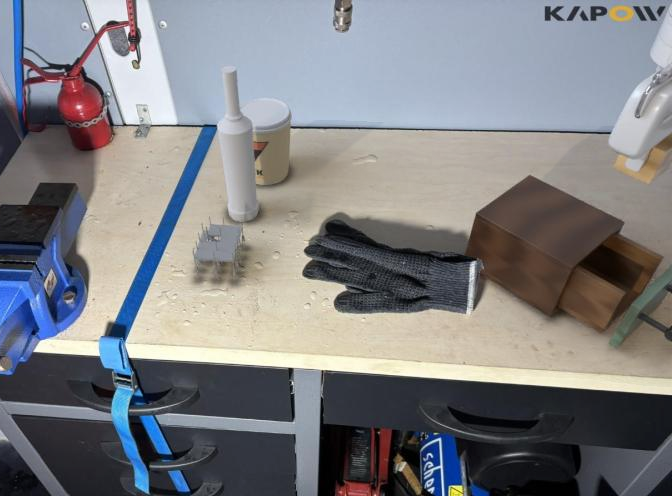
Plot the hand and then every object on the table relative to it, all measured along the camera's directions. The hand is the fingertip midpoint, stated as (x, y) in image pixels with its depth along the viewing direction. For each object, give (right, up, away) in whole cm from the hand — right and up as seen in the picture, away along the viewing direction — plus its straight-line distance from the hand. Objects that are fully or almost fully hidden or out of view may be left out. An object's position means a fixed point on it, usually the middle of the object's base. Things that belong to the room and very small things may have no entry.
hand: (646, 157), depth 73 cm
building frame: (-53, -12, +19) cm, 58 cm away
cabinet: (-7, -12, +16) cm, 21 cm away
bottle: (-50, -3, +27) cm, 57 cm away
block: (0, -1, +1) cm, 2 cm away
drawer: (0, -18, +9) cm, 20 cm away
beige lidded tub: (-46, +5, +35) cm, 58 cm away
